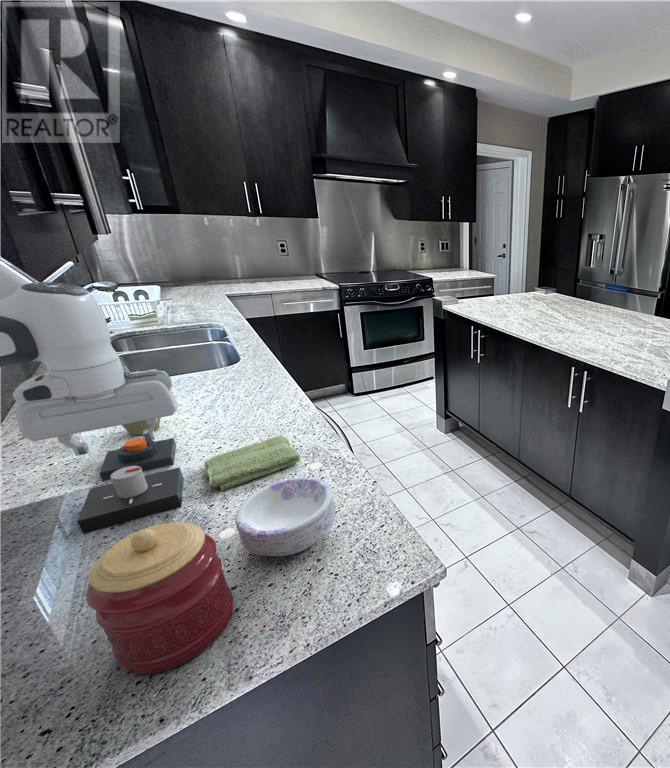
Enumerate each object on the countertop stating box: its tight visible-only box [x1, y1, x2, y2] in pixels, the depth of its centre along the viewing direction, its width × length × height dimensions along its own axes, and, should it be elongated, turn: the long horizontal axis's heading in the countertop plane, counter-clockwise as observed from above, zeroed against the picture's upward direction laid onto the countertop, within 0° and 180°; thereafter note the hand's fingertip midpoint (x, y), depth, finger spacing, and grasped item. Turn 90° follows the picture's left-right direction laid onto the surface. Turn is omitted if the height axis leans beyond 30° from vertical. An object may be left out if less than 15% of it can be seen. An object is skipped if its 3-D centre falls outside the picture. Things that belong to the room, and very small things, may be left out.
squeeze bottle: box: [121, 365, 161, 436], centre depth 103 cm, size 8×8×18 cm
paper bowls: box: [234, 476, 337, 557], centre depth 72 cm, size 15×15×8 cm
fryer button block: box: [99, 437, 177, 482], centre depth 93 cm, size 12×10×4 cm
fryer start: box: [123, 437, 147, 452], centre depth 92 cm, size 4×4×2 cm
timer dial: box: [110, 466, 148, 498], centre depth 78 cm, size 4×4×5 cm
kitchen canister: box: [85, 522, 234, 675], centre depth 54 cm, size 13×13×18 cm
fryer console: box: [76, 467, 184, 535], centre depth 80 cm, size 14×11×3 cm
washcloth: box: [203, 435, 301, 491], centre depth 93 cm, size 13×18×3 cm
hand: (118, 446), depth 76 cm, fingers open, 8 cm apart
